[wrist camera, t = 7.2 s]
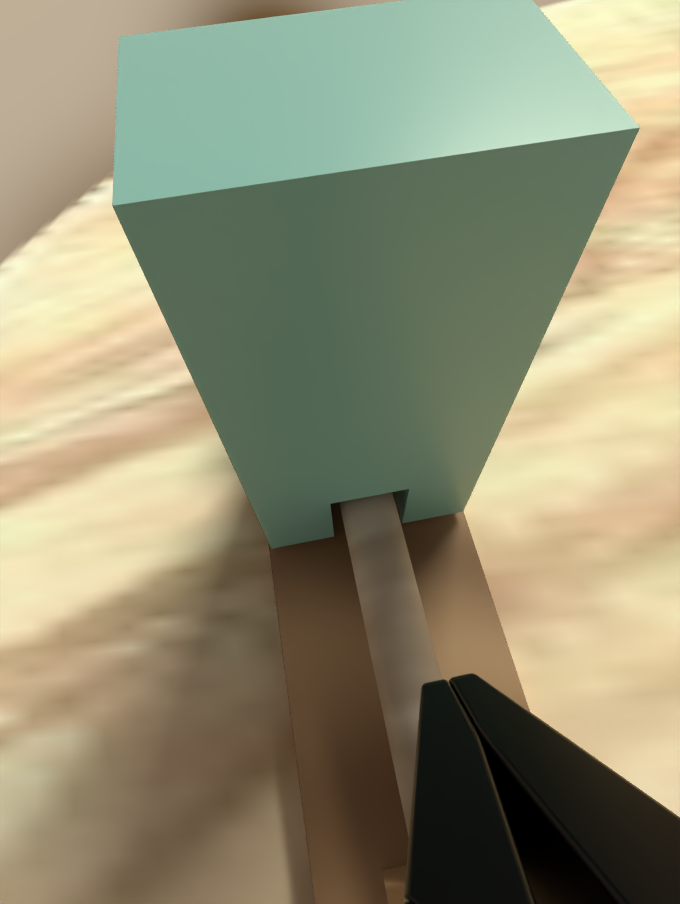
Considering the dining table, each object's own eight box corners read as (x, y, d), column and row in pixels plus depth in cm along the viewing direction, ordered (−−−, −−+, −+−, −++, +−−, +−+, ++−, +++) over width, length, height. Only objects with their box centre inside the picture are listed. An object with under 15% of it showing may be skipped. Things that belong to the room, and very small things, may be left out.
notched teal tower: (462, 511, 17) (639, 127, 6) (271, 548, 16) (111, 205, 6) (429, 409, 18) (520, -15, 8) (257, 440, 18) (118, 36, 8)
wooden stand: (582, 899, 13) (692, 980, 8) (326, 963, 12) (309, 1080, 8) (402, 345, 21) (413, 249, 17) (248, 371, 21) (220, 279, 17)
